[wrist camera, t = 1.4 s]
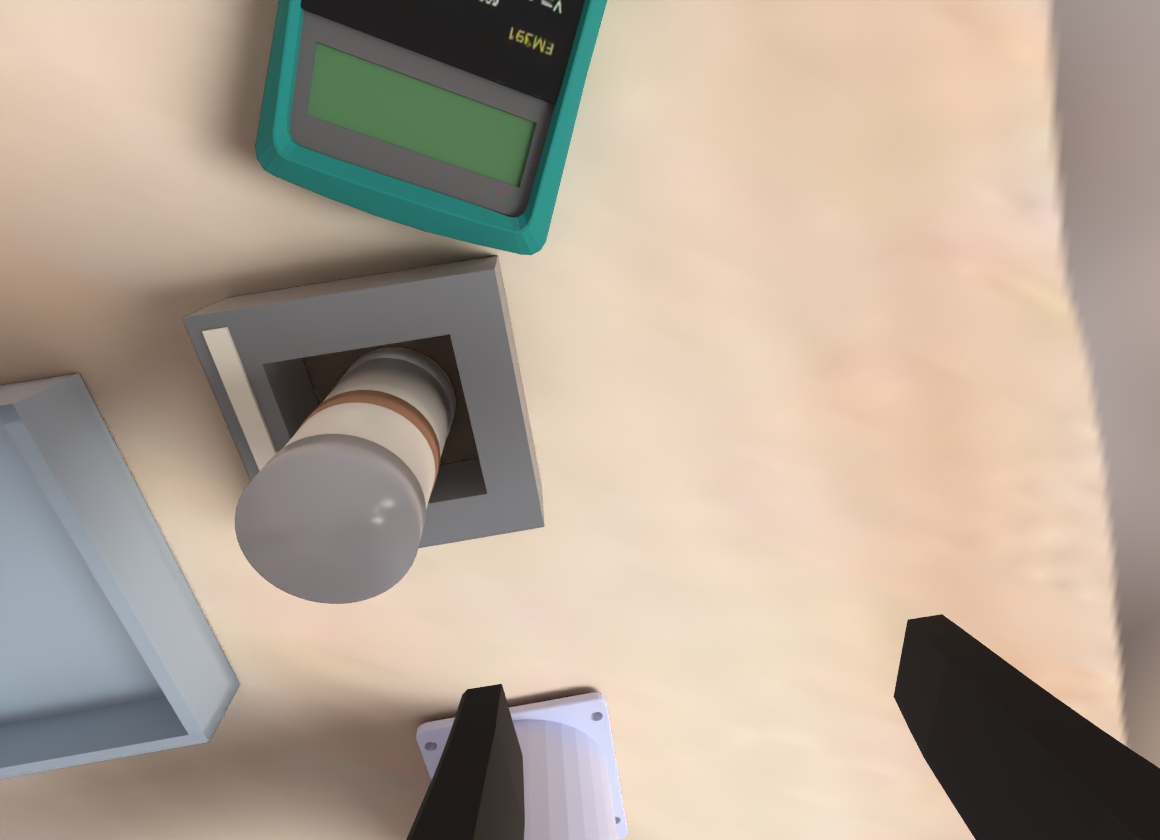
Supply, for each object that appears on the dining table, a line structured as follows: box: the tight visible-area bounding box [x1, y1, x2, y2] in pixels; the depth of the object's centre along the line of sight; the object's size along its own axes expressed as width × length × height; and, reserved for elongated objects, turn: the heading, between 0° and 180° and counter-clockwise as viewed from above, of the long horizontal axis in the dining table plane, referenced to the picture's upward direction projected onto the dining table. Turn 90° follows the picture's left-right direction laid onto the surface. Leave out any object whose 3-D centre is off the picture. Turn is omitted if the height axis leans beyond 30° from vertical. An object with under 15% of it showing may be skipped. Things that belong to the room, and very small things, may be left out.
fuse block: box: [182, 256, 544, 548], centre depth 18 cm, size 8×8×3 cm
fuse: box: [235, 347, 456, 604], centre depth 15 cm, size 4×4×8 cm
